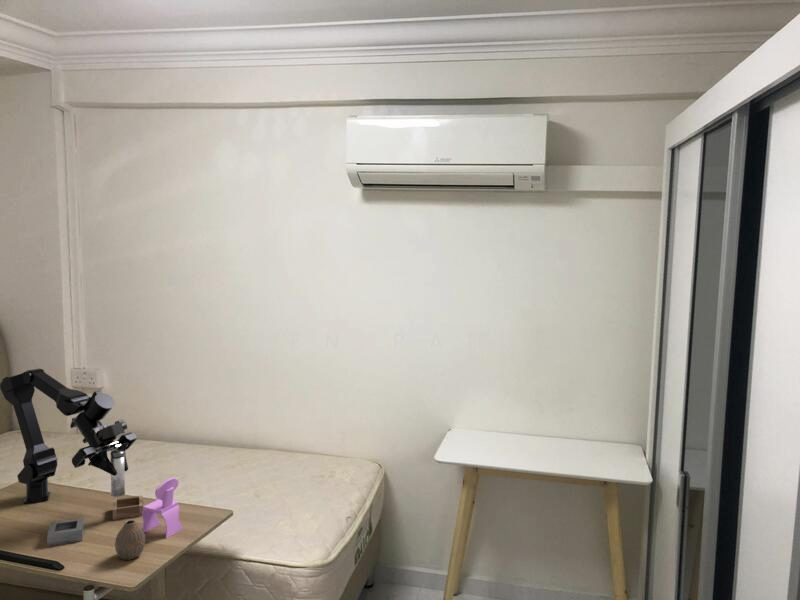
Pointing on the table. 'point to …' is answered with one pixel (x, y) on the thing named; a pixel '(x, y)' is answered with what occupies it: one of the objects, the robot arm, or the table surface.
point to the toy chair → (163, 508)
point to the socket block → (65, 531)
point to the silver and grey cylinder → (118, 473)
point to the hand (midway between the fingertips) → (121, 472)
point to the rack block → (127, 507)
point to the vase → (130, 541)
